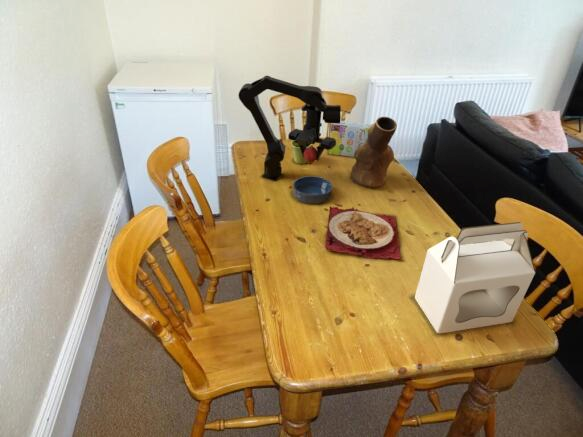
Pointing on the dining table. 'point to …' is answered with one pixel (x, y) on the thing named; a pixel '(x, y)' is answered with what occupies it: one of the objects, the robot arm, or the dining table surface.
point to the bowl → (312, 189)
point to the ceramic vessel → (374, 154)
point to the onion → (310, 154)
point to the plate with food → (362, 233)
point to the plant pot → (298, 153)
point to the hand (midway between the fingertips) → (310, 158)
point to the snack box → (348, 137)
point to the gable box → (476, 277)
